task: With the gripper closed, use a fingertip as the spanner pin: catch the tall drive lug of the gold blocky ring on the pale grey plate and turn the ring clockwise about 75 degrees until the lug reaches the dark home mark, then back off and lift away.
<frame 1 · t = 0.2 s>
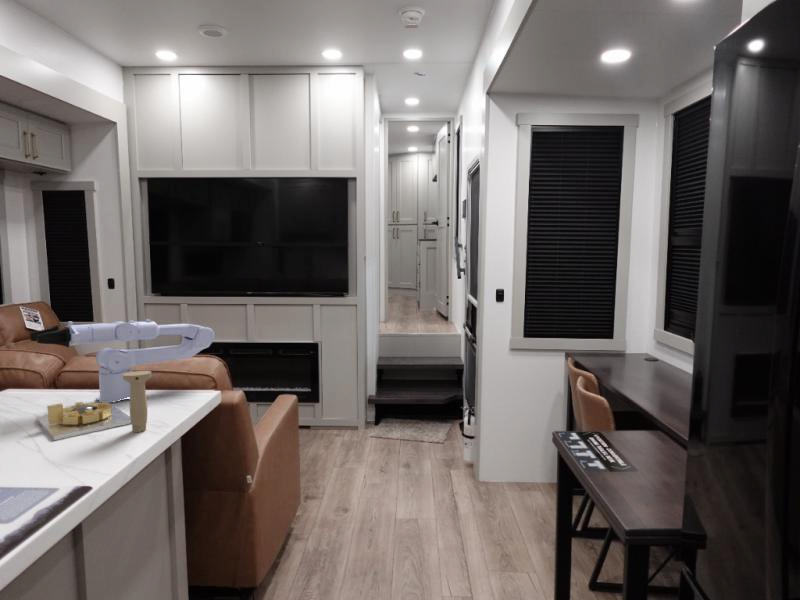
hand: (33, 337, 139), 22 cm above the countertop, tool horizontal, fingers open, 7 cm apart
plate: (84, 421, 135), on the countertop
gold blocky ring: (79, 409, 134), point 4 cm above the countertop, hinge at 0.0°
handle: (139, 431, 129), on the countertop
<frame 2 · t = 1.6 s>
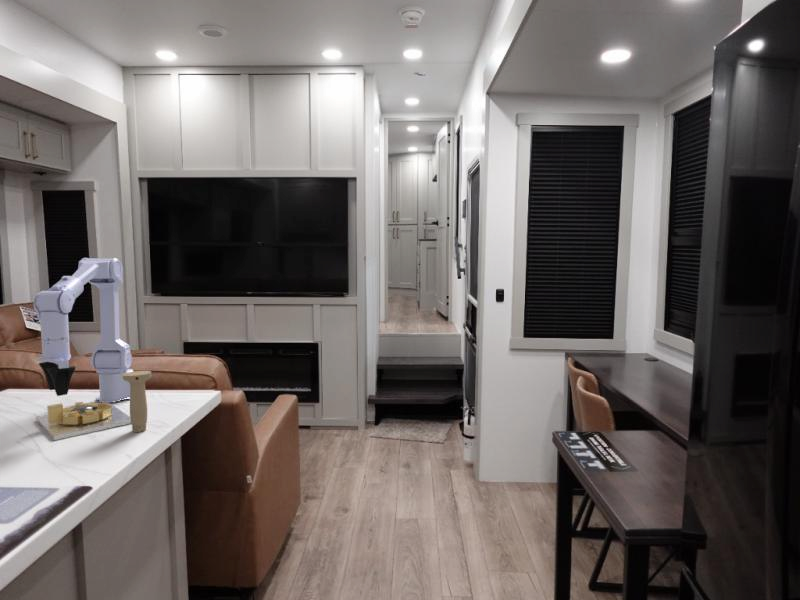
hand: (58, 391, 126), 10 cm above the countertop, tool pointing down, fingers open, 7 cm apart
nothing on the countertop moved.
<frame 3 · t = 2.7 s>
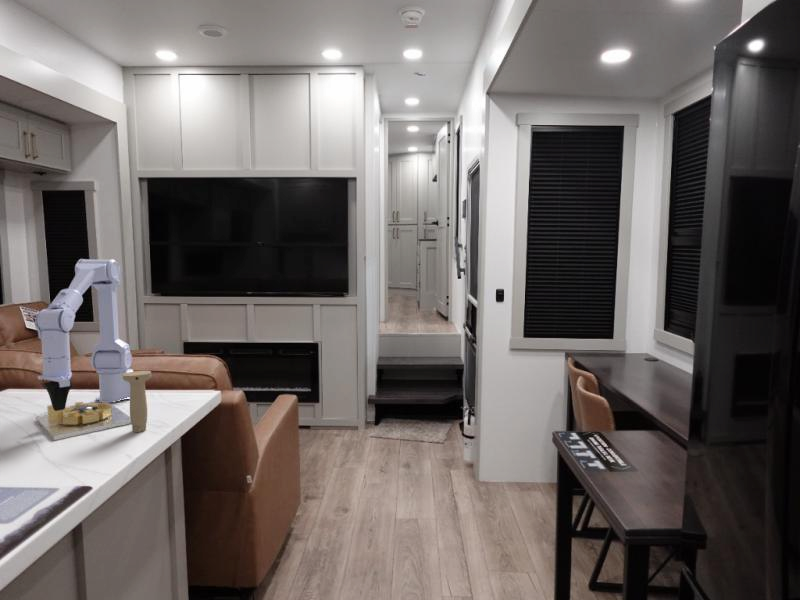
hand: (59, 409, 126), 6 cm above the countertop, tool pointing down, fingers closed
nothing on the countertop moved.
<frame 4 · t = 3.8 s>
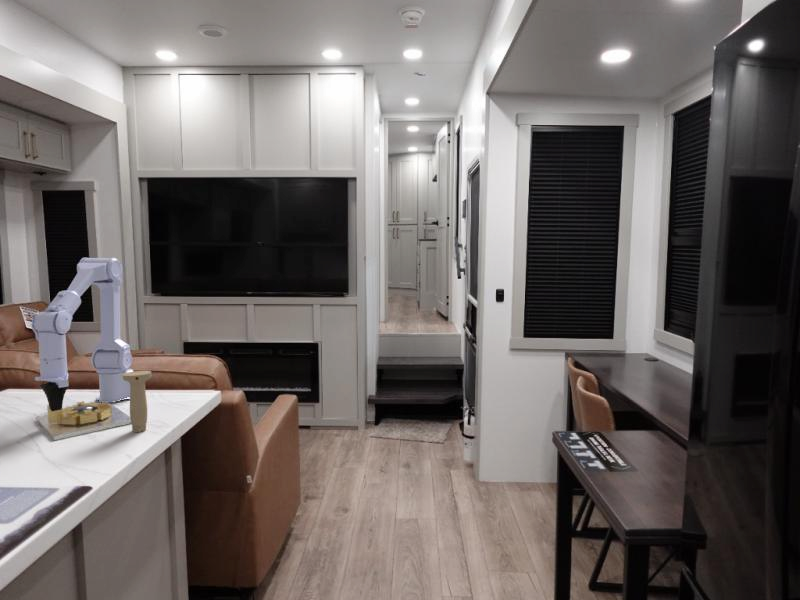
hand: (56, 410, 129), 5 cm above the countertop, tool pointing down, fingers closed, pressing on gold blocky ring
gold blocky ring: (79, 409, 134), point 4 cm above the countertop, hinge at 4.7°, touching gripper
everything else where it was.
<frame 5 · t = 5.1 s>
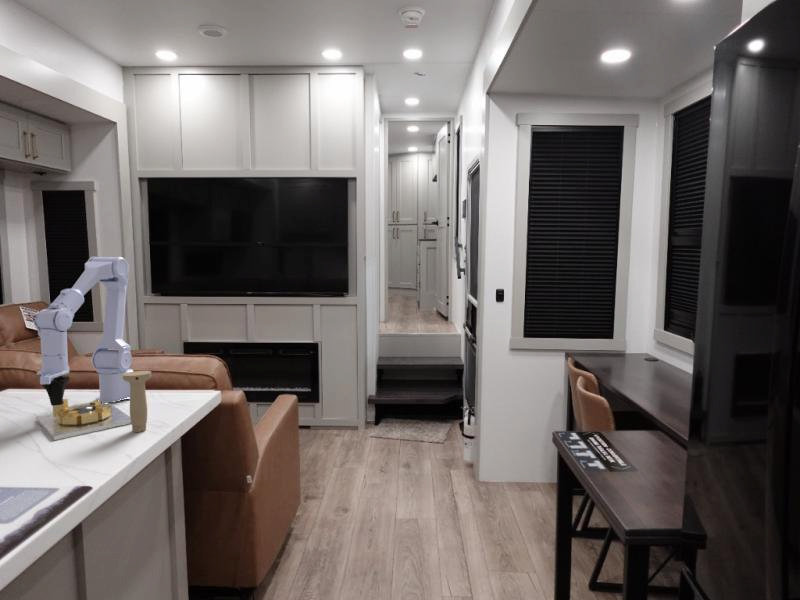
hand: (56, 404, 133), 5 cm above the countertop, tool pointing down, fingers closed, pressing on gold blocky ring
gold blocky ring: (80, 408, 134), point 4 cm above the countertop, hinge at 47.5°, touching gripper
everything else where it was.
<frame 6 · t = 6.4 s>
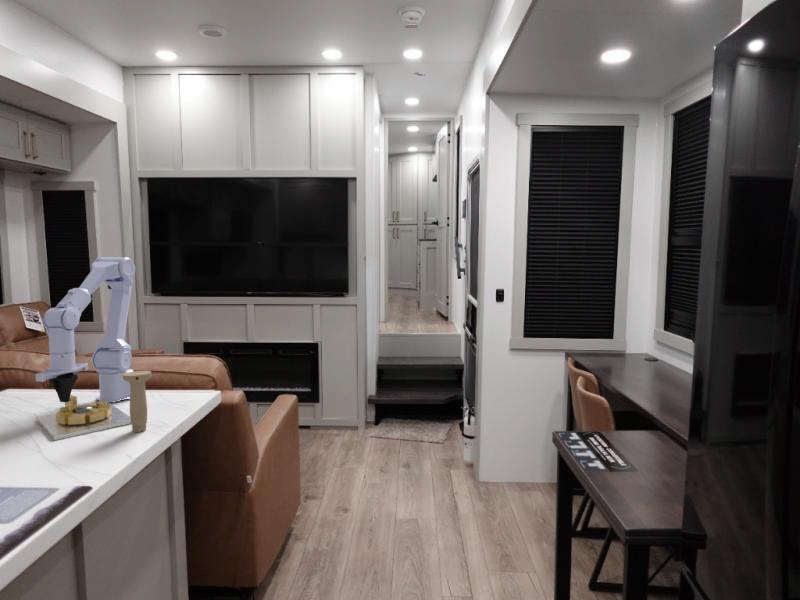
hand: (64, 401, 136), 5 cm above the countertop, tool pointing down, fingers closed, pressing on gold blocky ring
gold blocky ring: (82, 407, 135), point 4 cm above the countertop, hinge at 75.4°, touching gripper
everything else where it was.
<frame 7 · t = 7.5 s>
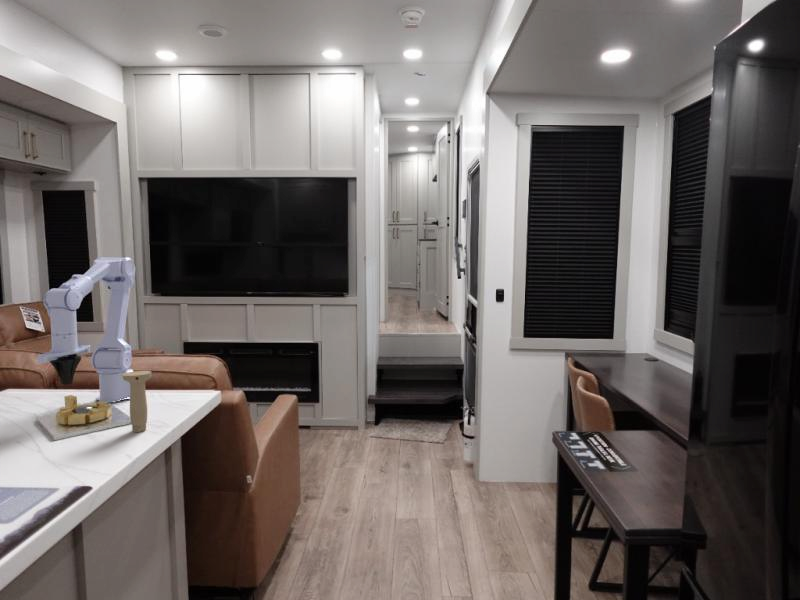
hand: (66, 383, 134), 10 cm above the countertop, tool pointing down, fingers closed
gold blocky ring: (82, 407, 135), point 4 cm above the countertop, hinge at 75.5°
everything else where it was.
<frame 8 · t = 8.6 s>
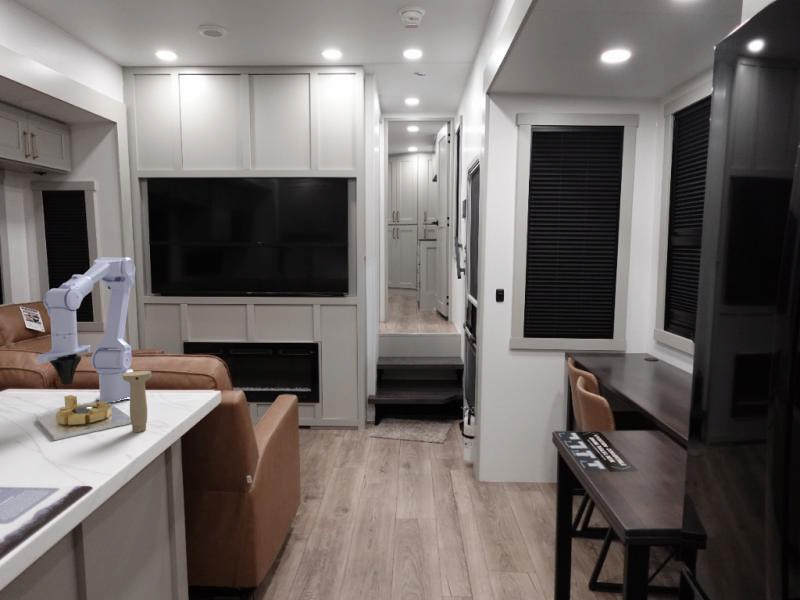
hand: (66, 383, 134), 10 cm above the countertop, tool pointing down, fingers closed
nothing on the countertop moved.
at the end: gold blocky ring at +76° (first picture: +0°) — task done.
